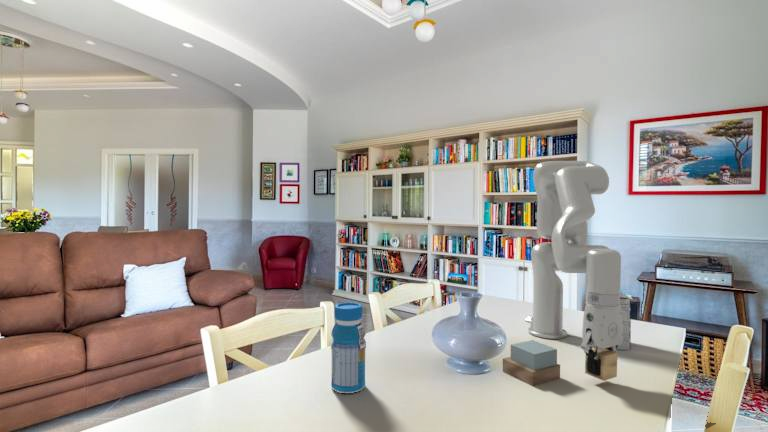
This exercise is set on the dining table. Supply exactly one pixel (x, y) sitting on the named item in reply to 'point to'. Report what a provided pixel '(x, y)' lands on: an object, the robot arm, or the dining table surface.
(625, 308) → the candy bar box
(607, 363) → the oak block
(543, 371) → the walnut slab
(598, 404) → the dining table surface
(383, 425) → the dining table surface
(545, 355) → the slate-grey block
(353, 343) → the beverage bottle
